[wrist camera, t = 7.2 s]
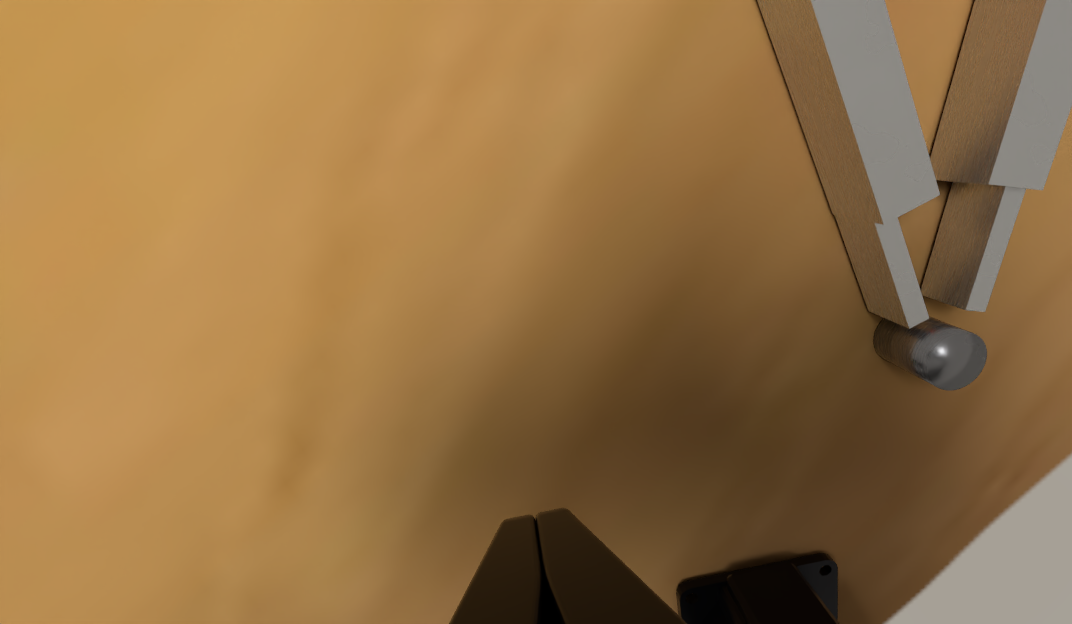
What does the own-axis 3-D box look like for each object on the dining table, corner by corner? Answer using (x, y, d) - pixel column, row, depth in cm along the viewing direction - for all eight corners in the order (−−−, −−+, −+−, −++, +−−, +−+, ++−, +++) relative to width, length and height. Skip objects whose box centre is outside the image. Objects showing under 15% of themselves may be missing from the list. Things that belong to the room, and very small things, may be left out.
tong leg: (916, 285, 20) (981, 307, 18) (864, 313, 20) (921, 337, 18) (712, -355, 14) (764, -463, 12) (642, -313, 15) (678, -410, 12)
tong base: (916, 362, 21) (982, 395, 18) (867, 359, 21) (925, 391, 18) (1149, -397, 15) (1297, -515, 12) (1084, -414, 15) (1220, -538, 12)
